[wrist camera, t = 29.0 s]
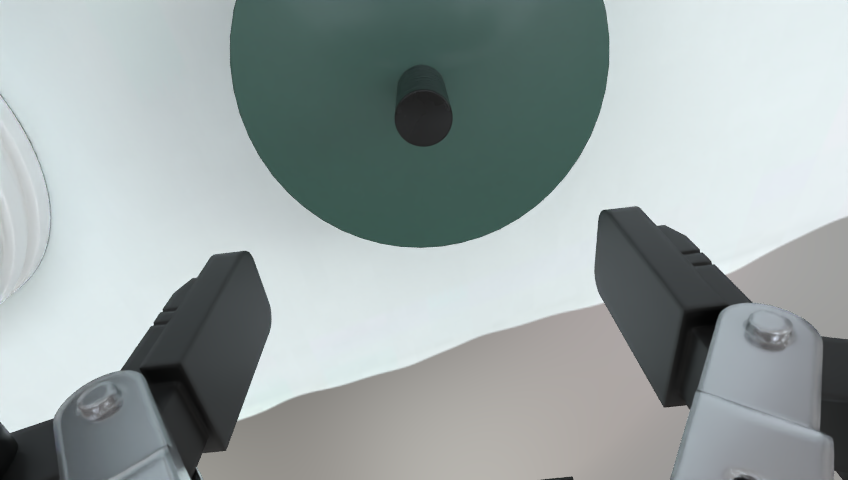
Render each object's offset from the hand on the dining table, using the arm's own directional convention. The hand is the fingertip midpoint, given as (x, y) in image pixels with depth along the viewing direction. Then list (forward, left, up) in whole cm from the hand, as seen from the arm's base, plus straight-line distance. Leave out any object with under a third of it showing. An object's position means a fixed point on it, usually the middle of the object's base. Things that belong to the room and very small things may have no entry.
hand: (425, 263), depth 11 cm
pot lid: (0, 0, -16) cm, 16 cm away
